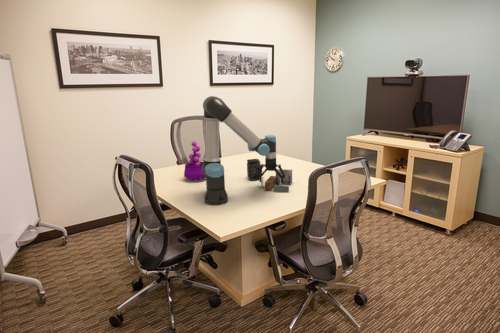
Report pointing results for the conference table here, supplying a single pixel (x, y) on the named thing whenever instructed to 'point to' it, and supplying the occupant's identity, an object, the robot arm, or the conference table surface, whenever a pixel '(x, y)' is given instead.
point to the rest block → (281, 188)
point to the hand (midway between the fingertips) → (271, 186)
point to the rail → (270, 183)
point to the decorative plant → (194, 165)
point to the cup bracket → (287, 179)
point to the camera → (253, 169)
